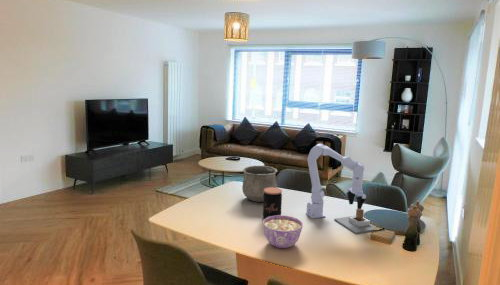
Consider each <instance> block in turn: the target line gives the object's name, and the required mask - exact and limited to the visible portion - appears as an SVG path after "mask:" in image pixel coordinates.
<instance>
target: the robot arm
mask: <svg viewBox="0 0 500 285" xmlns="http://www.w3.org/2000/svg"><path fill="white" fill-rule="evenodd" d="M321 155H322V156H325V157H326V156H329V157H330V158H333V159H335V160H337V161H338V162H340V163H341V164H340V165H341V166H343V167H345V168H347V169H349V170H350V171H352V173H353V174H352V180H351V181H352V182H351V187H347V188H346V189H347V192H346V196H347V198H348V204H349V205H354V202H355V198H356V202H357V204H356V207H357V208H356V209H363V208H362V207H363V205H364V203H365V202H366V200H367V195H366V194H365V193H364V191H363V182H364V171H365V165H364V164H362V162H359V161H355V160H354V159H353V158H352V157H351V156H347V155H346V156H343V155H341V154H340V153H338V152H337V151H336V150H333V148H331V147H329V146H327V145H326V144H324V143H317V144H316V145H315V146H313V147H312V148H311V149H310V151H309V153H308V157H307V158H306V159H307V160H306V161H307V165H308V170H309V171H308V172H309V176H310V182H311V196H310V199H311V201H309V202H307V204H306V213H305V214H306V216H308V217H310V218H311V219H316V218H317V219H319V218H325V217H326V215H325V214H324V213H323V212H324V200H323V198H324V197H325V196H326V195H325V191H324V190H323V187H322V185H321V181H320V176H319V170H318V163H317V160H318V159H319V157H321ZM355 196H358V197H355Z"/></svg>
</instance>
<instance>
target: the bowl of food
mask: <svg viewBox="0 0 500 285" xmlns="http://www.w3.org/2000/svg"><path fill="white" fill-rule="evenodd" d="M303 225H304V224H303V222H302V221H301V220H300V219H298V218H297V217H293V216H289V215H283V214H281V215H276V216H270V217H267V218H265V219H263V220H262V226H263V227H262V228H263V231H264V235H265V239H266V241H267V242H268V243H269V244H270V245H272V246H274V247H275V248H276V247H277V248H278V249H287V248H290V247H293V246H294V245H296V243H297V242H299V239H300V236H301V233H302V229H303V227H304V226H303Z"/></svg>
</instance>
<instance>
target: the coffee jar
mask: <svg viewBox="0 0 500 285" xmlns="http://www.w3.org/2000/svg"><path fill="white" fill-rule="evenodd" d="M264 192H265V193H264V200H263V202H262V204H263V205H262V206H263V207H262V219H263V220H264V219H265V218H267V217H270V216H276V215H282V200H283V199H282V198H283V194H282V193H283V190H282V189H281V188H278V187H277V188H274V187H270V188H265V189H264Z"/></svg>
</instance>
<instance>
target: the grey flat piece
mask: <svg viewBox="0 0 500 285" xmlns="http://www.w3.org/2000/svg"><path fill="white" fill-rule="evenodd" d="M370 220H371V219H370ZM370 220H368V219H366V218H364V217H363V221H357V220H356V215H351V216H344V217H342V216H341V217H337V218H336V217H335V218H334V222H337V223H338V224H339V225H341V226H342V227H344V228H346V229H347V230H349V231H350V232H352V233H354V234H355V235H359V234H365V233H371V232H374V231H373V230H374V228H375V227H376V226H374V225H372V224H370Z"/></svg>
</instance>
